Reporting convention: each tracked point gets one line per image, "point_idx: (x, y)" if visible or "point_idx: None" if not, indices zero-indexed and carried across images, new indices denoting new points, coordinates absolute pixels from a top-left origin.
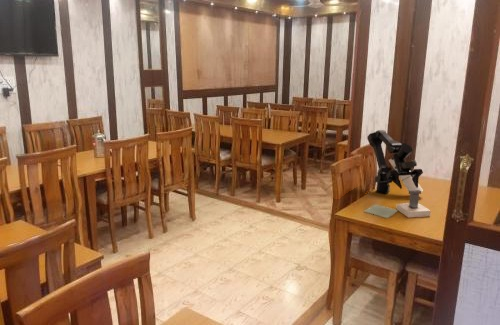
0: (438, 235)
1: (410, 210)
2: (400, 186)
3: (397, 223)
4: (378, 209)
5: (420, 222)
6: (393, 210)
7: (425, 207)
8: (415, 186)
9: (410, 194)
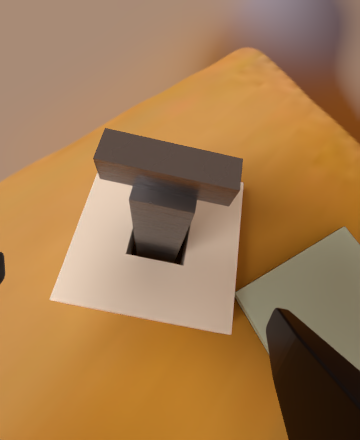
0: (228, 55)
1: None
2: (304, 330)
3: (319, 170)
4: (354, 351)
5: (213, 140)
6: (266, 298)
7: (88, 197)
8: None
9: (192, 217)
